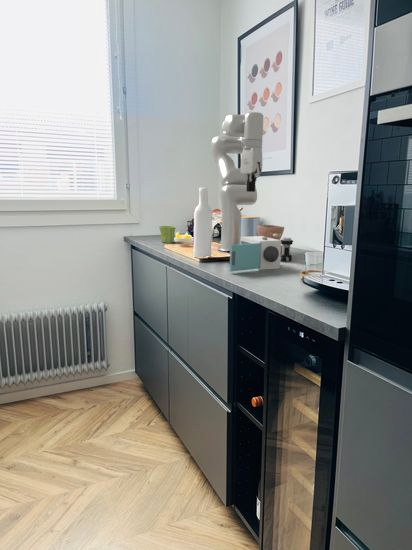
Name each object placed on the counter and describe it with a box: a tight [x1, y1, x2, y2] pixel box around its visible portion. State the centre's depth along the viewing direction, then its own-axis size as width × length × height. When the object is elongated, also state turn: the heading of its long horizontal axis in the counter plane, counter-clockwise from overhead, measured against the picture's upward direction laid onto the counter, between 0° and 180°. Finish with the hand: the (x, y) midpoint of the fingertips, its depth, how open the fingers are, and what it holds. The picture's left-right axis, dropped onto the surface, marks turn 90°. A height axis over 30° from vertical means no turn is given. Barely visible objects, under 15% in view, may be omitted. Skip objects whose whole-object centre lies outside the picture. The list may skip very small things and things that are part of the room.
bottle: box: [192, 187, 213, 257], centre depth 179 cm, size 8×8×30 cm
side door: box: [229, 243, 261, 272], centre depth 152 cm, size 14×1×10 cm, turn 121°
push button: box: [280, 237, 294, 263], centre depth 175 cm, size 7×5×10 cm
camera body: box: [240, 235, 282, 271], centre depth 163 cm, size 16×10×12 cm, turn 26°
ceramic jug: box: [256, 224, 285, 255], centre depth 185 cm, size 18×14×14 cm
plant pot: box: [158, 225, 177, 244], centre depth 225 cm, size 9×9×9 cm
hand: (250, 191), depth 170 cm, fingers closed
